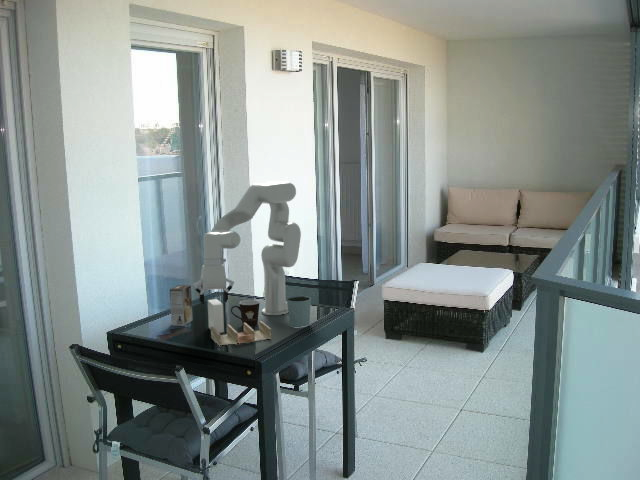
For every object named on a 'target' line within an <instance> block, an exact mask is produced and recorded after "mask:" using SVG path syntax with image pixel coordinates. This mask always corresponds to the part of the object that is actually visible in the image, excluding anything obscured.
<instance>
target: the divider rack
mask: <svg viewBox="0 0 640 480" xmlns="http://www.w3.org/2000/svg"><path fill="white" fill-rule="evenodd" d="M258 324H259V330H254V329H253V327H250V326H249V325H247V324H246V323H243V324H242V326H243V325H244V326H243V332H238V331H237V330H236V329H235V328H233V327H232V325H231V324H227V325H226V326H227V329H226V331H227V333H226V334H221V333H219V332H218V331H217V330H216V329H215V328H214V327H213V326H212V327H211V329H210V338H211V339H212V341H214V343H215V344H216V343H217V344H218V345H219V346H218V345H217V346H218V347H221V346H220V345H227V346H229V345H228V344H235V345H241V344H240V343H246V342H253V341H256V340H263V339H270V338H271V339H272V328H271V327H270V326H269V325H267V324H266V323H265V322H264V321H262V320H258ZM237 343H239V344H237ZM253 343H254V342H253ZM246 344H247V343H246Z"/></svg>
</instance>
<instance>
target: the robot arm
mask: <svg viewBox="0 0 640 480" xmlns="http://www.w3.org/2000/svg"><path fill="white" fill-rule="evenodd" d="M296 194H297V189H296V186H295V184H293V183H292V182H289V181H267V182H265V183H253V184H251V185H250V186H249V187H248V188H247V190H246V192H245V193H244V194H243V196H242V198H241V199H240V200H239V202H238V203H237V205H236V206H235V207H234V208H233V209H231V210H230V211H229V212H227V213H225V214H224V215H223V216H222V217H220V219H218V220H217V221H216V223H215V224H214V226H213V227H212V229H211V230H210V232H206V233H204V234H203V265H202V266H201V271H200V279H199V280H197V281H196V282H194V283H192V287H193V288H194V290H195V291H196V292H197V293H198V294H199V303H201V304H202V305H204V304H205V294H204V293H205V292H206V291H211V290H222V289H223V302H224V303H227V302H228V300H229V292H230V291H231V290H232V289H233V286H234V284H235V281H233V280H232V279H229V278H227V274H226V269H225V268H226V267H225V265H224V263H225V262H226V261H227V259H226V258H224V257H223V249H227V250H228V249H231V250H232V249H235V248H237V247H238V246H240V243H241V236H240V234H239V233H238V232H236V231H234V230H232V229H233V228H234V227H236V226H237V227H238V225H242V224H244V223H247V222H249V221H251V220H252V219H253V218H254V216H255V215H256V214H257V212H258V210H259V209H260V207H261V205H263V204H267V205H268V204H269V208H270V214H269V221H268V229H267V230H268V231H267V236H268V239H269V240H270V241H274V242H279V243H283V244H277V243H275V244H274V243H272V244H271V243H270V244H267V245H265V246H264V247H263V248H262V249H261V255H260V256H261V261H262V265H263V276H264V278H263V281H264V284H263V285H264V308H263V309H261V313H262V314H263V315H266V316H282V314H284V315H286V313H287V314H289V313H288V312H289V311H288V304H287V298H286V273H285V270H284V268H292V267H294V266H295V265H296V263H297V260H298V257H299V253H300V252H299V251H300V246H301V245H300V243H301V237H302V236H301V235H302V234H301V233H302V231H301V228H300V226H299V224H297V223H296V222H294V221H289V218H290V207H289V205H288V203H287V202H291V201H293V199H295V197H296ZM227 283H229V285H228V286H227ZM199 285H200V289H199V287H198V286H199Z"/></svg>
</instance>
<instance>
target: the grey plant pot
mask: <svg viewBox="0 0 640 480" xmlns="http://www.w3.org/2000/svg"><path fill="white" fill-rule="evenodd" d="M286 302H287V304H288V311H289V313H288V322H289V327H290V326H293V327H301V326H306V325H309V324H310V325H311V323H310V322H311V317H310V315H311V304H312V303H311V302H312V298H311V297H310V296H307V295H293V296H289V297H288V298H286ZM310 325H309V326H310Z"/></svg>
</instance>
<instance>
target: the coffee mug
mask: <svg viewBox="0 0 640 480" xmlns="http://www.w3.org/2000/svg"><path fill="white" fill-rule="evenodd" d="M238 305H239V306H238ZM238 305H233V306H232V307H230V312H231V314H232V315H233V316H234V317H235V318H238V319H240V320H241V321H242V327H244V325H243V323H246V324H247V325H249V326H250V327H251V328H254V326H255V327H257V326H258V324H259V312H260V301H259V300H254V299H253V300H252V299H248V300H240V301H239V304H238ZM234 308H238V310H239V311H240V316H238V315H237V314H235V313H234V312H233V309H234ZM256 325H257V326H256Z"/></svg>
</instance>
